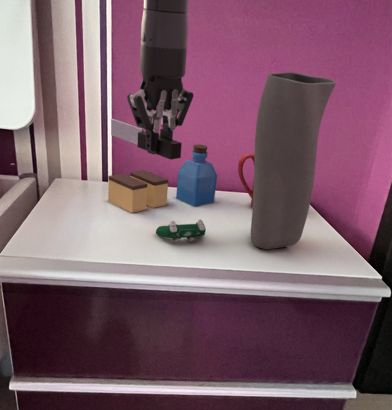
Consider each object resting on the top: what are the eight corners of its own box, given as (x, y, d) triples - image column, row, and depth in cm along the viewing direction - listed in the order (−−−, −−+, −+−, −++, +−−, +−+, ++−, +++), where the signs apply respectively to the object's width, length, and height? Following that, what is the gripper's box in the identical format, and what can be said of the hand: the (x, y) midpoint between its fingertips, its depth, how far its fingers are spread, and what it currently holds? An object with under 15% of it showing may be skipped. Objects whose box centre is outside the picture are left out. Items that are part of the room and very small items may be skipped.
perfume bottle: (194, 206, 125) (199, 151, 118) (176, 198, 128) (180, 144, 122) (214, 202, 129) (220, 148, 122) (195, 194, 132) (201, 141, 126)
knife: (180, 158, 99) (182, 140, 97) (170, 159, 97) (171, 141, 96) (116, 134, 109) (117, 118, 107) (106, 135, 107) (106, 119, 106)
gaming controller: (157, 248, 108) (166, 236, 103) (153, 229, 109) (162, 216, 103) (201, 245, 111) (212, 233, 106) (197, 227, 112) (208, 214, 106)
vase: (265, 259, 104) (297, 83, 88) (227, 235, 112) (250, 70, 96) (314, 251, 110) (352, 84, 94) (275, 228, 118) (304, 72, 102)
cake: (131, 213, 118) (132, 186, 115) (108, 201, 122) (108, 175, 119) (166, 204, 124) (168, 179, 121) (142, 194, 128) (143, 169, 125)
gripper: (146, 46, 85) (142, 163, 94) (210, 46, 93) (200, 152, 103) (115, 39, 89) (114, 151, 98) (179, 40, 97) (172, 143, 107)
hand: (158, 151), depth 100 cm, fingers closed on knife, 2 cm apart
